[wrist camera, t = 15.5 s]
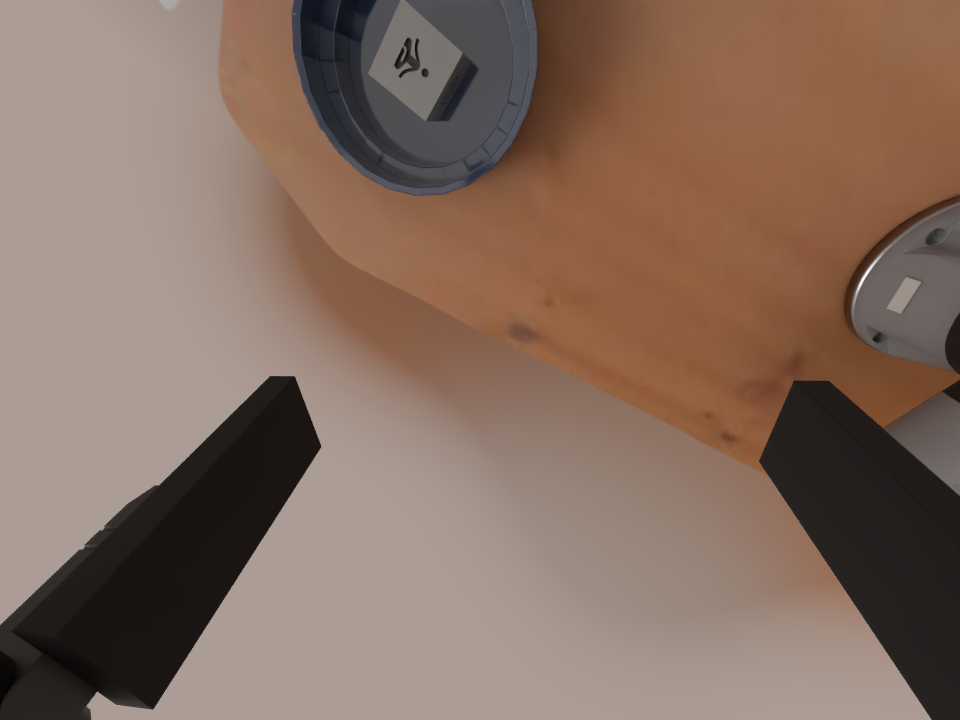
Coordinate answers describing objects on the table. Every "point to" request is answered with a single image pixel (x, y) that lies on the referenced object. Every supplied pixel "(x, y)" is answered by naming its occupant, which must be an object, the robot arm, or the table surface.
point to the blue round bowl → (394, 126)
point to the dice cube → (419, 64)
